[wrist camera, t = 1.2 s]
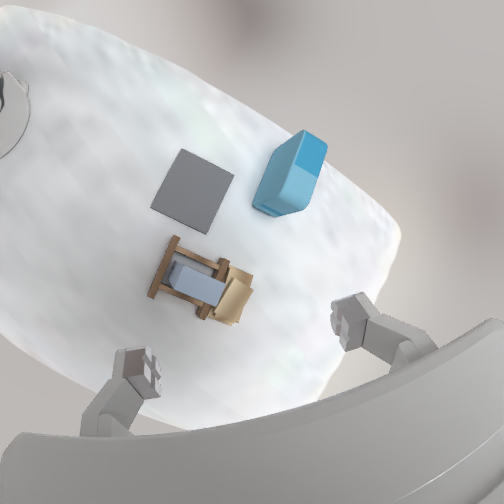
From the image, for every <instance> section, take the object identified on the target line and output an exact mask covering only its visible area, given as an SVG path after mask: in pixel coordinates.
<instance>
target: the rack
mask: <svg viewBox="0 0 504 504" xmlns="http://www.w3.org/2000/svg"><path fill="white" fill-rule="evenodd" d="M179 240H180V237H178V236H176V235H174V236H173V237H172V239H171V241H170V244H169V246H168V248H167V250H166V252H165V255H164V257H163V259H162V262H161V264H160V266H159V268H158V271H157V273H156V275H155V278H154V280H153V283H152V285H151V287H150V290H149V292H148V297H150V298H152V299H154V297H155V295H156V293H157V290H158V289H161V290H163V291H165V292H168V293H170V294H172V295H174V296H177V297H179V298H181V299H184V300H186V301H189V302H191V303H193V304H196V305H198V306H199V308H198V310H197V313H196V315H197V316H198V317H199V318H200V319H203V320H205V319H206V316H207V314H208V312H209V309H210V307H211V305H210V304H208V303H205V302H203V301H201V300H198V299H196V298H193V297H191V296H189V295H186V294H184V293H182V292H179V291H177V290H175V289H173V288H172V287H170V286H168V285H166V284H163V283H161V281H162V278H163V276H164V274H165V271H166V269H167V267H168V264H169V262H170V260H171V258H172V255H173V253H174V251H176V252H179V253H181V254H183V255H185V256H187V257H189V258H192V259H194V260H196V261H198V262H200V263H202V264H205V265H207V266H209V267H211V268H213V269H215V271H214V273H213V275H212V278H213V279H216V280H218V281H220V282H221V281H222V279H223V277H224V274H225V272H226V270H227V267H228V265H229V263H230V261H229V260H227V259H224V258H220V259H219V262H218V264H216V263H214V262H212V261H210V260H207V259H205V258H203V257H201V256H199V255H197V254H194V253H192V252H190V251H188V250H186V249H184V248H182V247H179V246H177V244H178V242H179Z"/></svg>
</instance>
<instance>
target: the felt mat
mask: <svg viewBox="0 0 504 504" xmlns="http://www.w3.org/2000/svg"><path fill="white" fill-rule="evenodd" d="M233 177H234V175H233V174H231V173H229V172H227V171H225V170H224V169H222V168H220V167H218V166H216V165H214V164H212V163H210V162H208V161H206V160H204V159H202V158H200V157H198V156H196V155H194V154H192V153H190V152H188V151H186V150H184V149H181V151H180V152H179V154H178V156H177V158H176V159H175V161H174V163H173V165H172V167H171V169H170V170H169V172H168V174H167V176H166V178H165V180H164V182H163V184H162V185H161V187H160V189H159V191H158V193H157V195H156V197H155V199H154V201H153V203H152V205H151V208H152V209H154V210H156V211H158V212H160V213H162V214H165V215H167V216H169V217H171V218H173V219H175V220H177V221H179V222H181V223H183V224H185V225H187V226H189V227H192V228H194V229H196V230H198V231H200V232H202V233H204V234H207V232H208V230H209V228H210V226H211V223H212V221H213V219H214V217H215V215H216V213H217V211H218V208H219V206H220V204H221V202H222V200H223V198H224V196H225V194H226V192H227V190H228V187H229V185H230V183H231V181H232V179H233Z"/></svg>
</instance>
